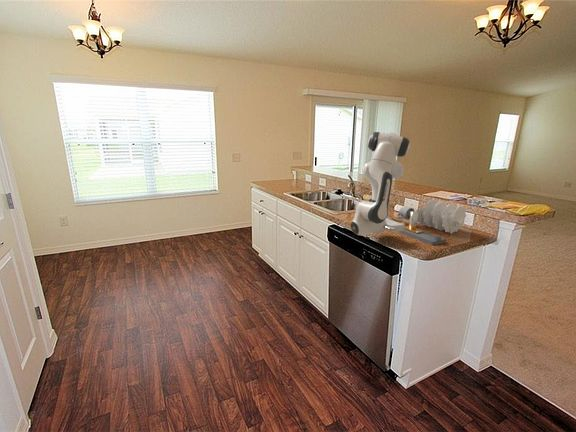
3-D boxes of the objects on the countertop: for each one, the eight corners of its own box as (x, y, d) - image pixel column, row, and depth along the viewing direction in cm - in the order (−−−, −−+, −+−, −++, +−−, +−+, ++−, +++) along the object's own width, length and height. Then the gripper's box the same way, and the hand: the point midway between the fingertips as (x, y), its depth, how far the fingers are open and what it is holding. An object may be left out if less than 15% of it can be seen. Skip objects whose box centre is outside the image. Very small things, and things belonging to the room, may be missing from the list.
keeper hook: (431, 238, 157) (432, 235, 157) (435, 237, 158) (436, 234, 158) (437, 240, 154) (437, 237, 154) (441, 239, 155) (441, 236, 155)
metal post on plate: (402, 228, 174) (404, 210, 172) (409, 227, 176) (411, 209, 174) (416, 233, 165) (419, 214, 162) (423, 232, 167) (426, 213, 164)
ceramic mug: (405, 215, 211) (406, 205, 209) (414, 218, 203) (415, 207, 201) (394, 217, 207) (395, 206, 205) (402, 220, 200) (403, 209, 198)
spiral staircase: (425, 229, 192) (463, 238, 171) (409, 221, 183) (447, 230, 162) (434, 203, 192) (474, 209, 171) (419, 194, 183) (459, 199, 162)
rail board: (397, 231, 175) (397, 228, 175) (409, 229, 179) (410, 226, 179) (432, 245, 153) (432, 241, 153) (445, 242, 157) (446, 239, 157)
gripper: (392, 224, 149) (412, 221, 155) (366, 214, 167) (385, 212, 173) (391, 235, 151) (411, 232, 156) (365, 225, 169) (384, 222, 174)
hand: (397, 221), depth 165 cm, fingers open, 8 cm apart
